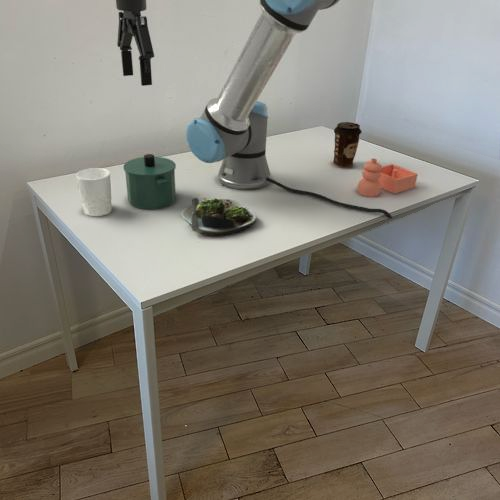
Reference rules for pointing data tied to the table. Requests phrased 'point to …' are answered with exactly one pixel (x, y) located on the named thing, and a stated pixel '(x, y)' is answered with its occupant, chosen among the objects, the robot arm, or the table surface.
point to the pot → (151, 191)
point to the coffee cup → (346, 143)
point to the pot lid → (149, 166)
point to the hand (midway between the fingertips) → (137, 80)
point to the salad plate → (218, 217)
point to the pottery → (385, 179)
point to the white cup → (95, 191)
